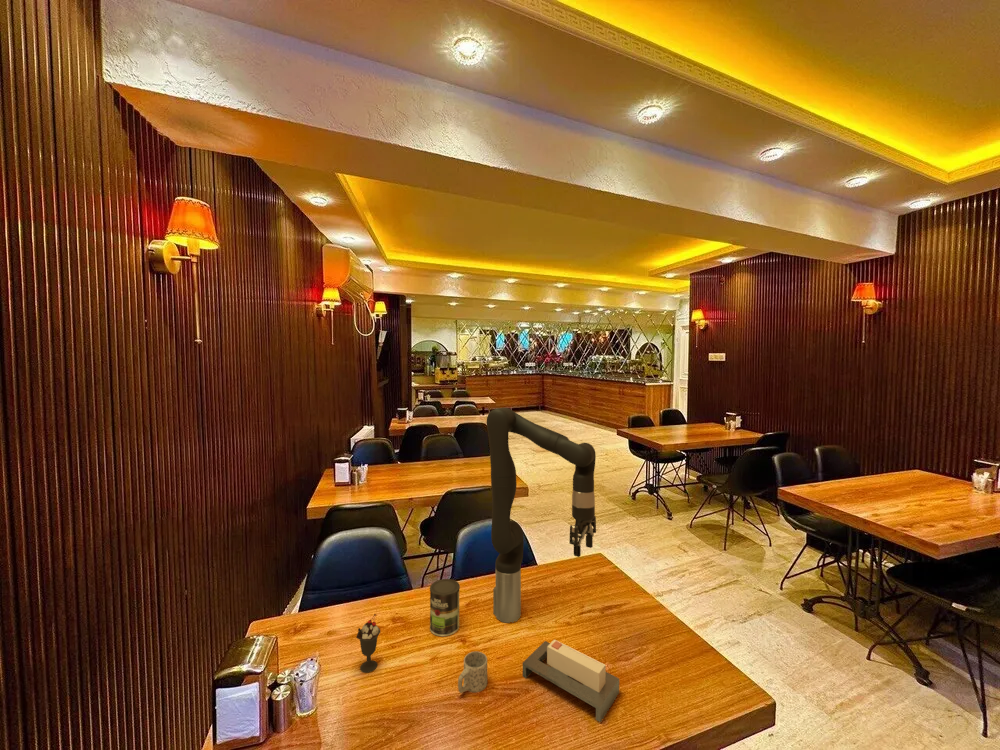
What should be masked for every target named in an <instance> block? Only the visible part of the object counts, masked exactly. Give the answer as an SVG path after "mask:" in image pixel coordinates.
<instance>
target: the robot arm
mask: <svg viewBox="0 0 1000 750" xmlns="http://www.w3.org/2000/svg"><path fill="white" fill-rule="evenodd" d="M486 429H487V435H488V438H487V439H488V443H489V459H490V460H489V461H490V463H489V464H490V486H491V504H492V505H491V506H492V507H491V515H492V516H491V518H492V519H491V530H490V531H491V532H490V535H491V536H490V538H491V544H492V546H493V548H494V550H495V551H496V552H497V553H499V554H498V556H497V557H496V559H495V564H494V565H495V586H494V587H493V589H492V591H493V592H492V593H493V597H492V598H493V600H492V601H493V602H492V603H493V606H492V607H493V608H492V609H493V612H492V613H493V615H494V616H495V617H496V620H498V621H499V620H500V622H502V623H507V624H509V623H510V622H512V623H515V622H518V619H519V618H521V617H520V616H522V615H521V614H522V591H521V588H522V583H521V582H522V580H521V579H522V577H521V575H522V573H521V572H522V571H521V569H522V562H523V560H524V559H523V558H524V546H525V545H524V544H525V543H524V541H525V540H524V532H523V529H522V526H521V525H520V523H519V522H517V521H515V520H511V511H512V507H513V503H514V501H515V496H516V493H517V469H516V466H515V463H514V459H513V457H512V453H511V451H510V447H509V445H510V444H509V433H513V434H517V435H518V436H522V437H524V438H526V439H527V440H529V441H531V442H532V443H534V444H535V445H536V446H537V447H540V448H542V449H543V450H546V451H547V452H550V453H552V454H555V455H557V456H560V457H561V458H562V459H564V460H566V461H567V462H568V463H571V464H572V465H575V467H574V469H575V470H574V473H573V476H572V494H571V516H572V518H573V519H574V520H575V523H574V525H572V524H571V525H570V526H569V544H570V545H573V556H575V557H577V558H579V557H581V554H582V553H581V552H582V548H581V544H582V541H583V540H584V538H585V547H586V548H590V549H591V548H593V544H594V543H593V542H594V539H593V538H594V535H595V534H596V532H597V517H596V512H595V511H596V509H595V508H596V507H595V506H596V499H595V498H596V496H595V479H594V478H595V475H594V474H595V468H596V456H597V453H596V450H595V448H594V446H593V445H592V444H590V443H589V442H581V443H577V442H574V441H572V440H570V439H569V438H568V437H567V436H566V435H565V434H562V433H559V432H556V431H554V430H552V429H549V428H546V427H544V426H542V425H539V424H538V423H535V422H534V421H531V420H529V419H527V418H525V417H523V416H522V415H520V414H519V413H517V412H516V411H514V410H512V409H510V408H508V407H500V408H495V409H492V410H490V411H489V413H488V415H487V417H486ZM519 620H520V619H519ZM514 621H515V622H514Z"/></svg>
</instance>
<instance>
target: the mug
mask: <svg viewBox="0 0 1000 750" xmlns="http://www.w3.org/2000/svg"><path fill="white" fill-rule="evenodd" d="M487 686H488V656H487V655H486V654H485V653H483V652H482V651H475V650H474V651H471V652H468V653H467V654H466V655H465V656H464V658H463V670H462V672H461V673H460V675H458V680H457V689H458V692H459V693H460V694H462V693H464V692H465V693H466V692H467V691H468V692H470V693H473V694H474V693H476V694H477V693H479V692H482V691H484V690H485V689H486V687H487Z"/></svg>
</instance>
